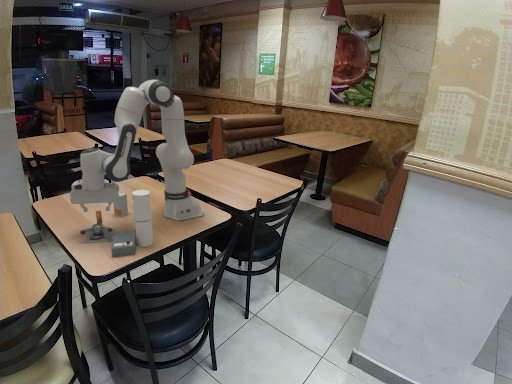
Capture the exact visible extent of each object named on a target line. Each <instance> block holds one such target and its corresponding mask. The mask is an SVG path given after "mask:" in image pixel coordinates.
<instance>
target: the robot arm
mask: <svg viewBox="0 0 512 384" xmlns="http://www.w3.org/2000/svg"><path fill="white" fill-rule="evenodd" d="M117 102H118V103H117V105H116V108H115V111H114V112H115V113H114V124H115V127H116V128H117V132H118V141H117V145H116V148H115V152H114V153H111V152H106V151H103V150H101V149H100V148H98V147H91V148H89V147H88V148H86V149H84V150H82V152H80V158H79V161H80V170H81V173H82V175H81V176H82V177H81V179H78V180H76V181H74V182H73V183H72V184H71V191H70V195H69V200H70V203H71V204H72V205H79V206H80V208H81V209H82V210H83V213H88V211H89V209H88V206H87V207H86V206H85V205H86V204H103V203H107V206H105V211H106V212H108V211H109V212H110V210H111V209H110V208H111V205H112V204H113V202H118V201H119V193H118V192H119V191H120V185H119V184H117V183H119V182H122V181H123V182H124V181H125V180H127V179H128V178H129V176H130V174H131V164H130V161H131V156H132V152H133V148H134V145H135V140H136V135H137V133H138V128H139V126H140V124H141V120H142V117H143V114H144V110H145V108H146V107H147V105H149V104H151V105H157V106H158V107H159V108H160V113H161V115H160V116H161V131H162V136H163V137H164V139H165V141H166V142H163V143H161V144H159V145H158V146H157V147H156V149H155V155H156V157H157V159H158V161H159V162H160V166H161V170H162V173H163V178H164V179H163V180H164V193H163V194H164V208H163V217H166V218H168V219H170V220H171V219H172V220H173V221H176V222H177V221H184V220H188V219H189V220H190V219H195V218H201V217H203V216H204V215H205V210H204V208H203V207H202V206H201V204H200V202H199V201H198V199H196V198H195V197H193V196H192V193H191V191H190V190H189V188H187V181H186V180H187V178H186V174H185V172H184V171H183V170H189V169H190V168H191V167H192V166H193V164H194V162H195V157H194V154H193V153H192V151H191V150H190V147H189V144H188V140H187V137H186V133H185V132H186V131H185V111H184V107H183V101H182V99H181V98H180V97H179V96H178V95H175V94H174V93H173V90H172V88H171V87H170V85H169V84H168V83H167V82H165V81H162V80H159V79H147V80H143V81H142V82H141V83H140V84H139V85H137V86H136V87H135V86H127V87H125V88H124V90H123V92H122V93H121V96H120V98H119V100H118V101H117ZM105 176H106V177H107V178H108V179H109V180H110V181H112V182H105ZM115 182H116V183H115Z"/></svg>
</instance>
